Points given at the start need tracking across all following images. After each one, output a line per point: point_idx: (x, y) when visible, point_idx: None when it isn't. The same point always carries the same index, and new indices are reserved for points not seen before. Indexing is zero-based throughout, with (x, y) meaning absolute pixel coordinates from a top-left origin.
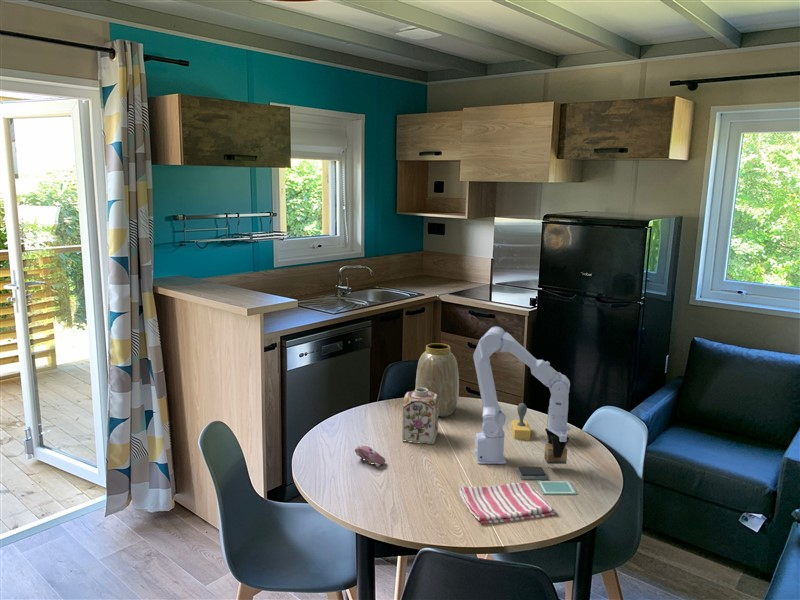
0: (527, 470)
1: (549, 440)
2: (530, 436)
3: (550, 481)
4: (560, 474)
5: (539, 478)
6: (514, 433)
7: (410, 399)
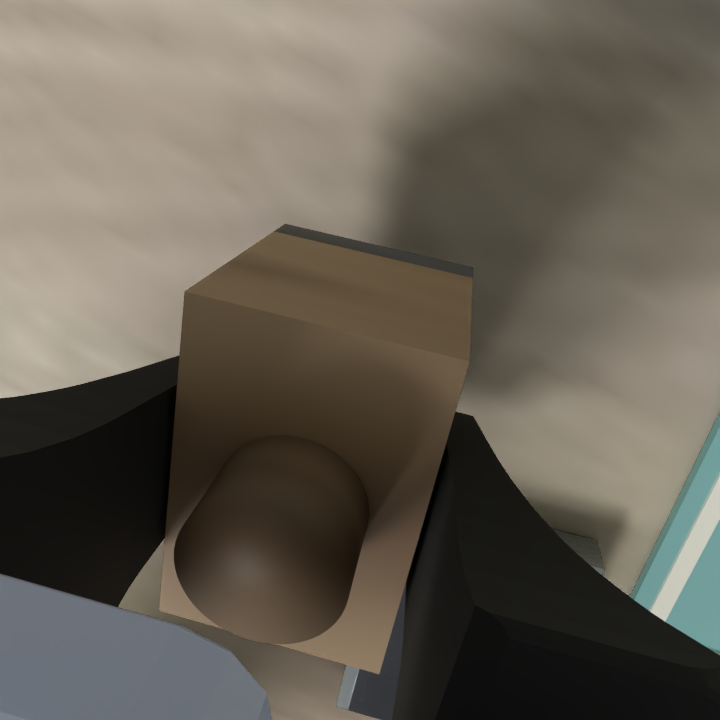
0: None
1: (121, 593)
2: None
3: (680, 553)
4: (527, 343)
5: None
6: None
7: None
